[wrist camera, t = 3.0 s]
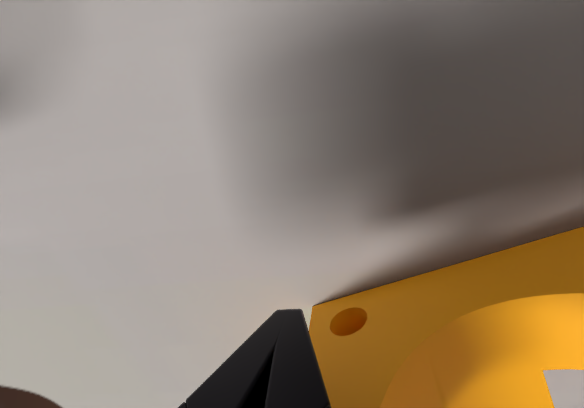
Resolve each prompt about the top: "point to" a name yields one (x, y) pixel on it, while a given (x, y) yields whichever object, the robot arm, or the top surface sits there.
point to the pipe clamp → (459, 332)
